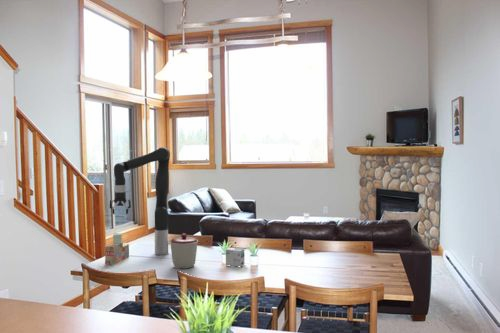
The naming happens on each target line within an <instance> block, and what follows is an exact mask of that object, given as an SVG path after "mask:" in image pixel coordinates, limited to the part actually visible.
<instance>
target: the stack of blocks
mask: <svg viewBox="0 0 500 333" xmlns="http://www.w3.org/2000/svg"><path fill="white" fill-rule="evenodd" d="M129 247H130V244H129V243H124V242H122V243H121V244H113V242H112V243H110V244H107V245H105V247H104V256H105V257H104V260H105V263H104V265H105V264H106V266H115V265H117V264H119V263H121V262H122V261H124V260H127V259H128V258H130V248H129Z"/></svg>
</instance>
